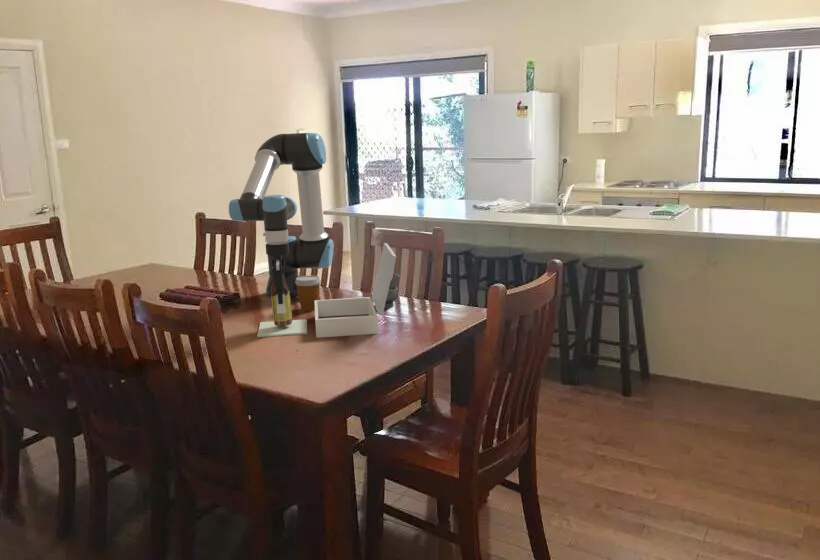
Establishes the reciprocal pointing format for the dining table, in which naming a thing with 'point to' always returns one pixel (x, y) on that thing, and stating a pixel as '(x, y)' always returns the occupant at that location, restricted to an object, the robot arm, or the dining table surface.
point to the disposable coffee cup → (308, 291)
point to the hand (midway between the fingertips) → (281, 310)
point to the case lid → (383, 278)
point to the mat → (282, 328)
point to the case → (345, 324)
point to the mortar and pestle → (392, 292)
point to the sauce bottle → (285, 318)
